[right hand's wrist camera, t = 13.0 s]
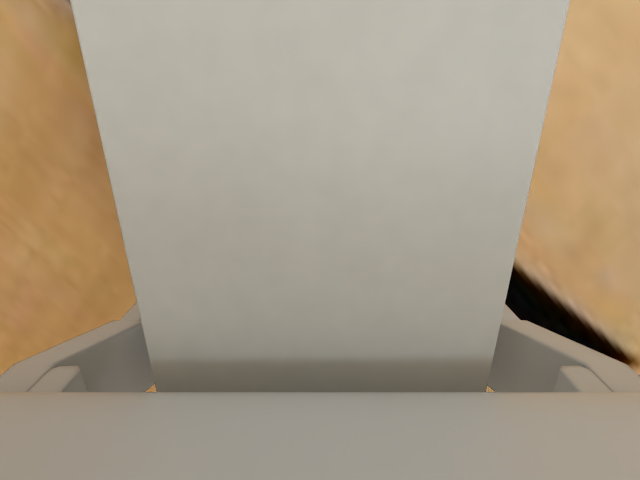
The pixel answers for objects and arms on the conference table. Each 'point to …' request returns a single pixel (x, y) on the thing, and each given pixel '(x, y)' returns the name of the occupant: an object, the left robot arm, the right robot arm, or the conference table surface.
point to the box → (320, 182)
